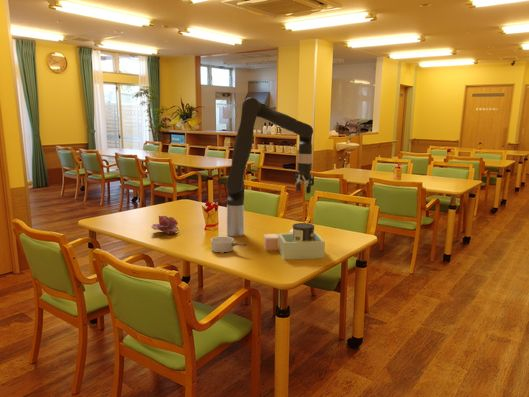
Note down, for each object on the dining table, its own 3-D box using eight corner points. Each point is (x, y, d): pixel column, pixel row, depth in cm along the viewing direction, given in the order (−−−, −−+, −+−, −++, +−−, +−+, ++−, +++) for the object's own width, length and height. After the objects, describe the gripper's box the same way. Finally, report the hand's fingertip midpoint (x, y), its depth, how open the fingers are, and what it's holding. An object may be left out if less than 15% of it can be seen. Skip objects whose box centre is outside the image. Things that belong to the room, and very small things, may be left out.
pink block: (265, 250, 203) (265, 237, 202) (263, 246, 209) (263, 234, 208) (278, 250, 204) (278, 237, 202) (276, 246, 210) (276, 233, 209)
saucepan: (238, 259, 190) (238, 247, 189) (205, 251, 201) (205, 240, 200) (252, 252, 200) (252, 241, 199) (220, 245, 211) (220, 235, 210)
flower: (149, 232, 223) (154, 214, 223) (151, 229, 237) (155, 212, 237) (176, 239, 226) (181, 221, 226) (176, 235, 240) (181, 218, 240)
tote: (283, 259, 190) (284, 242, 188) (278, 249, 205) (278, 233, 203) (324, 258, 193) (324, 241, 191) (315, 247, 208) (316, 232, 206)
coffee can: (314, 251, 202) (315, 223, 200) (312, 258, 192) (313, 228, 190) (293, 249, 204) (294, 222, 202) (290, 256, 194) (291, 227, 192)
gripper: (291, 161, 225) (290, 190, 228) (307, 163, 213) (305, 194, 216) (302, 160, 229) (301, 189, 232) (318, 163, 217) (317, 193, 220)
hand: (303, 191), depth 224 cm, fingers open, 8 cm apart
